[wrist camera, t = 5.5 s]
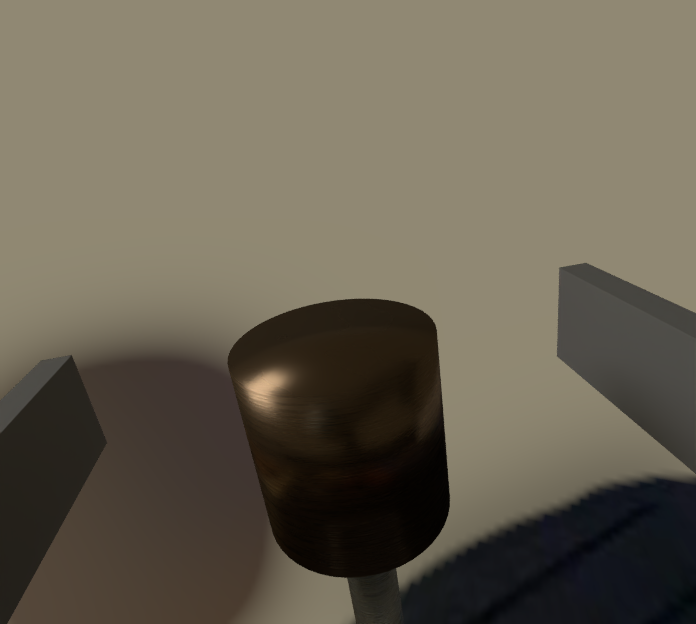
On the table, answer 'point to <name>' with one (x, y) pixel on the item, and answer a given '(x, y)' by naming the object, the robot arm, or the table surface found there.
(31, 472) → the robot arm
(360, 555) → the plunger
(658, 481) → the table surface
